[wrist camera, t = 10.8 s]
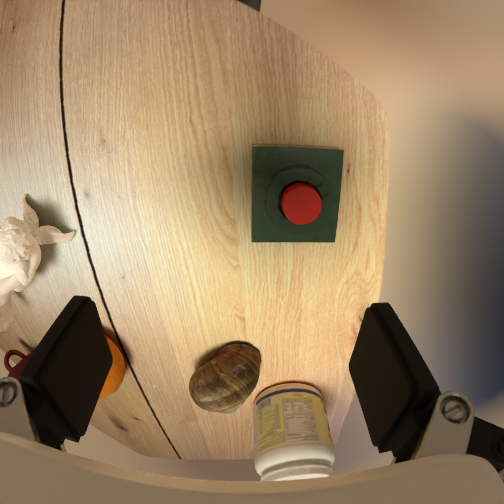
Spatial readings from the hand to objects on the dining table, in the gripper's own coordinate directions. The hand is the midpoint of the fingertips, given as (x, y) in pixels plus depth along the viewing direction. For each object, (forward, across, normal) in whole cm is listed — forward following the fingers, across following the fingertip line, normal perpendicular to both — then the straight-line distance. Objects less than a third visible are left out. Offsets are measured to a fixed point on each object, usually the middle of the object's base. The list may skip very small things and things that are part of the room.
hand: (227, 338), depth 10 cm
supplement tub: (+24, -8, +37) cm, 45 cm away
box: (+24, -6, +1) cm, 24 cm away
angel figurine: (+24, +31, +8) cm, 40 cm away
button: (+20, -6, +1) cm, 21 cm away
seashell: (+24, +2, +27) cm, 36 cm away
